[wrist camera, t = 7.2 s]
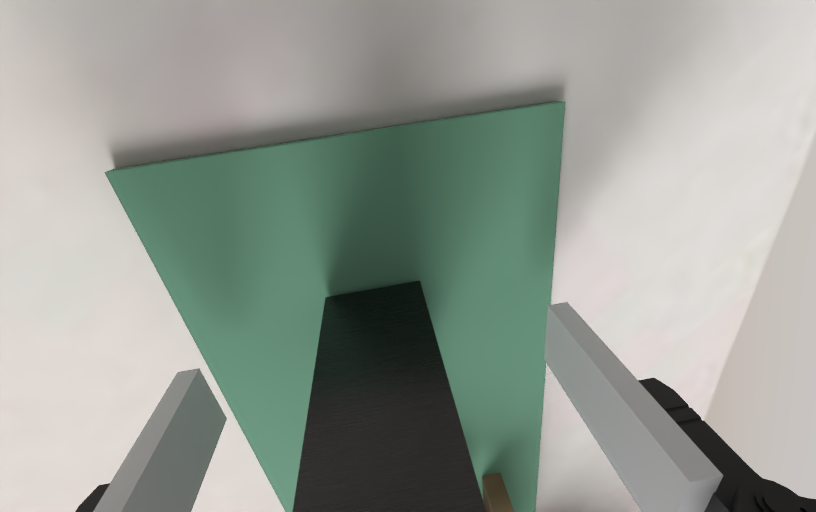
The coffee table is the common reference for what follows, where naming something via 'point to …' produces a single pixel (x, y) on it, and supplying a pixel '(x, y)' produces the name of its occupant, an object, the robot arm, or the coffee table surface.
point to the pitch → (367, 267)
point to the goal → (495, 494)
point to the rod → (383, 412)
